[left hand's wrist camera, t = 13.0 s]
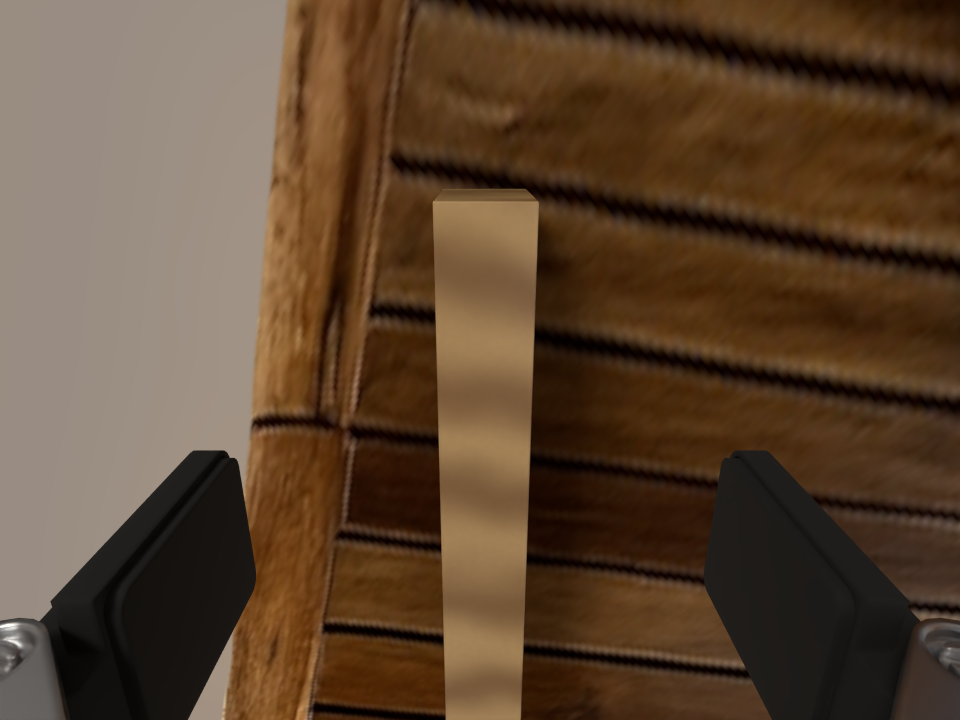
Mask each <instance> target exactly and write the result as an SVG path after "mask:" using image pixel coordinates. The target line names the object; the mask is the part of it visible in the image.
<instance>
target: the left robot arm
mask: <svg viewBox="0 0 960 720" xmlns="http://www.w3.org/2000/svg"><path fill="white" fill-rule="evenodd" d="M255 582H256V569H255V563H254V556H253V550H252V544H251V538H250V532H249V526H248V519H247V513H246V507H245V501H244V495H243V488H242V482H241V476H240V470H239V465H238V461H237V460H236V459H235V458H230V457H229V455H228V453H227V452H226V451H192V452H191V453H190V454H189V455H188V456H187V457H186V458H185V459H184V460H183V461H182V462H181V463H180V464H179V466H178V467H177V468H176V469H175V470H174V471H173V472H172V473H171V474H170V475H169V476H168V477H167V478H166V479H165V480H164V481H163V482H162V484H161V485H160V486H159V487H158V488H157V489H156V490H155V491H154V492H153V493H152V494H151V495H150V496H149V497H148V498H147V499H146V501H145V502H144V503H143V504H142V505H141V506H140V507H139V508H138V509H137V510H136V511H135V512H134V513H133V514H132V515H131V516H130V518H129V519H128V520H127V521H126V522H125V523H124V524H123V525H122V526H121V527H120V528H119V529H118V530H117V531H116V532H115V533H114V535H113V536H112V537H111V538H110V539H109V540H108V541H107V542H106V543H105V544H104V545H103V546H102V547H101V548H100V549H99V550H98V551H97V553H96V554H95V555H94V556H93V557H92V558H91V559H90V560H89V561H88V562H87V563H86V564H85V565H84V566H83V567H82V568H81V570H80V571H79V572H78V573H77V574H76V575H75V576H74V577H73V578H72V579H71V580H70V581H69V582H68V583H67V584H66V585H65V587H64V588H63V589H62V590H61V591H60V592H59V593H58V594H57V595H56V596H55V597H54V598H53V599H52V600H51V605H52V608H51V609H50V611H49V612H48V613H47V614H46V615H45V616H44V617H43V618H42V619H41V620H40V621H37V620H35V619H26V618H16V619H9V620H2V621H0V720H188V718H189V716H190V714H191V712H192V710H193V708H194V707H195V705H196V703H197V701H198V699H199V697H200V695H201V693H202V691H203V689H204V687H205V685H206V683H207V681H208V679H209V677H210V675H211V673H212V671H213V669H214V667H215V665H216V663H217V661H218V659H219V657H220V655H221V653H222V651H223V650H224V648H225V646H226V644H227V642H228V640H229V638H230V636H231V634H232V632H233V630H234V628H235V626H236V624H237V622H238V620H239V618H240V616H241V614H242V612H243V610H244V608H245V606H246V604H247V602H248V600H249V598H250V596H251V594H252V592H253V590H254V587H255ZM704 582H705V587H706V590H707V592H708V595H709V596H710V598H711V600H712V602H713V604H714V606H715V608H716V610H717V612H718V614H719V616H720V618H721V620H722V622H723V624H724V626H725V628H726V630H727V632H728V634H729V636H730V638H731V640H732V642H733V644H734V646H735V648H736V650H737V651H738V653H739V655H740V657H741V659H742V661H743V663H744V665H745V667H746V669H747V671H748V673H749V675H750V677H751V679H752V681H753V683H754V685H755V687H756V689H757V691H758V693H759V695H760V697H761V699H762V701H763V703H764V705H765V707H766V708H767V710H768V712H769V714H770V716H771V718H772V720H960V621H958V620H951V619H944V618H934V619H925V620H923V621H920V620H919V619H918V618H917V617H916V616H915V615H914V614H913V613H912V612H911V610H910V609H909V608H908V605H909V602H910V601H909V600H908V599H907V598H906V597H905V596H904V595H903V594H902V593H901V592H900V591H899V590H898V589H897V588H896V587H895V585H894V584H893V583H892V582H891V581H890V580H889V579H888V578H887V577H886V576H885V575H884V574H883V573H882V572H881V571H880V570H879V568H878V567H877V566H876V565H875V564H874V563H873V562H872V561H871V560H870V559H869V558H868V557H867V556H866V555H865V554H864V553H863V552H862V550H861V549H860V548H859V547H858V546H857V545H856V544H855V543H854V542H853V541H852V540H851V539H850V538H849V537H848V536H847V535H846V533H845V532H844V531H843V530H842V529H841V528H840V527H839V526H838V525H837V524H836V523H835V522H834V521H833V520H832V519H831V518H830V516H829V515H828V514H827V513H826V512H825V511H824V510H823V509H822V508H821V507H820V506H819V505H818V504H817V503H816V502H815V501H814V499H813V498H812V497H811V496H810V495H809V494H808V493H807V492H806V491H805V490H804V489H803V488H802V487H801V486H800V485H799V484H798V482H797V481H796V480H795V479H794V478H793V477H792V476H791V475H790V474H789V473H788V472H787V471H786V470H785V469H784V468H783V467H782V466H781V464H780V463H779V462H778V461H777V460H776V459H775V458H774V457H773V456H772V455H771V454H770V453H769V452H768V451H734V452H733V453H732V455H731V457H730V458H725V459H724V460H723V461H722V465H721V470H720V476H719V482H718V488H717V495H716V501H715V507H714V513H713V519H712V526H711V532H710V538H709V544H708V550H707V556H706V563H705V569H704Z"/></svg>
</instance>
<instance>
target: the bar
mask: <svg viewBox="0 0 960 720" xmlns="http://www.w3.org/2000/svg"><path fill="white" fill-rule="evenodd" d="M538 217H539V202H538V201H537V200H536V199H535V198H534V197H533V196H532V195H531V194H530V193H529V192H528V191H527V190H526V189H443V190H442V191H441V193H440V194H439V195H438V196H437V198H436V199H435V200H434V201H433V230H434V269H435V308H436V348H437V387H438V426H439V465H440V505H441V544H442V583H443V622H444V662H445V701H446V720H521V700H522V671H523V643H524V614H525V586H526V558H527V529H528V501H529V472H530V444H531V416H532V387H533V359H534V330H535V302H536V274H537V245H538Z"/></svg>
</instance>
